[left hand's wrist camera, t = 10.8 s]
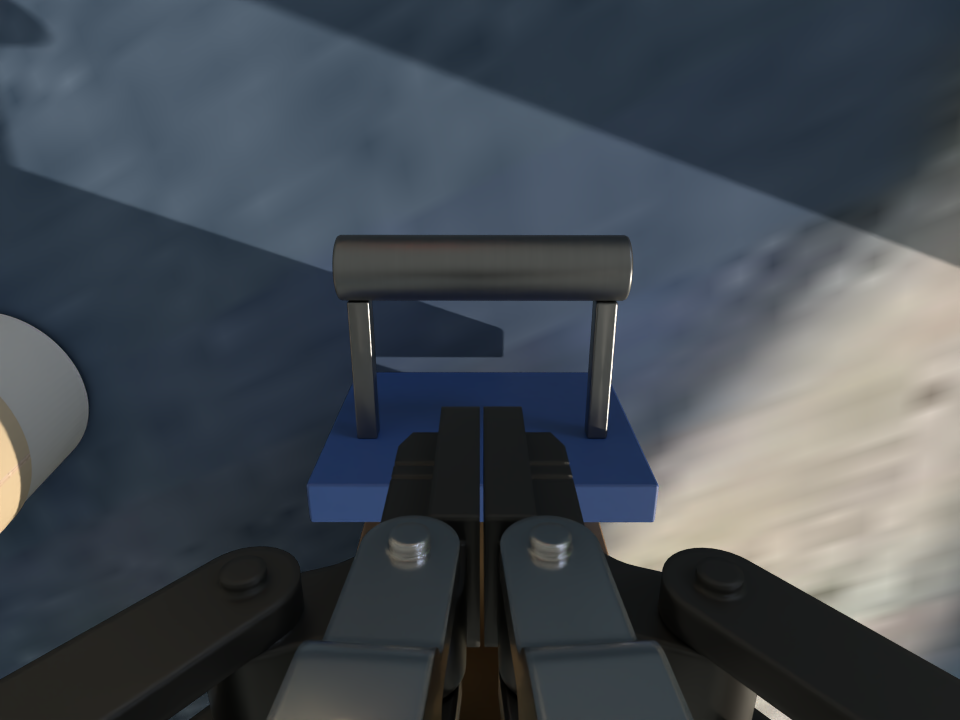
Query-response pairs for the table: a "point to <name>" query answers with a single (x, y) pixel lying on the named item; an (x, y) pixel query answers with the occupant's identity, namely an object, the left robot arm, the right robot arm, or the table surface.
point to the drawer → (482, 385)
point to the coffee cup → (35, 412)
